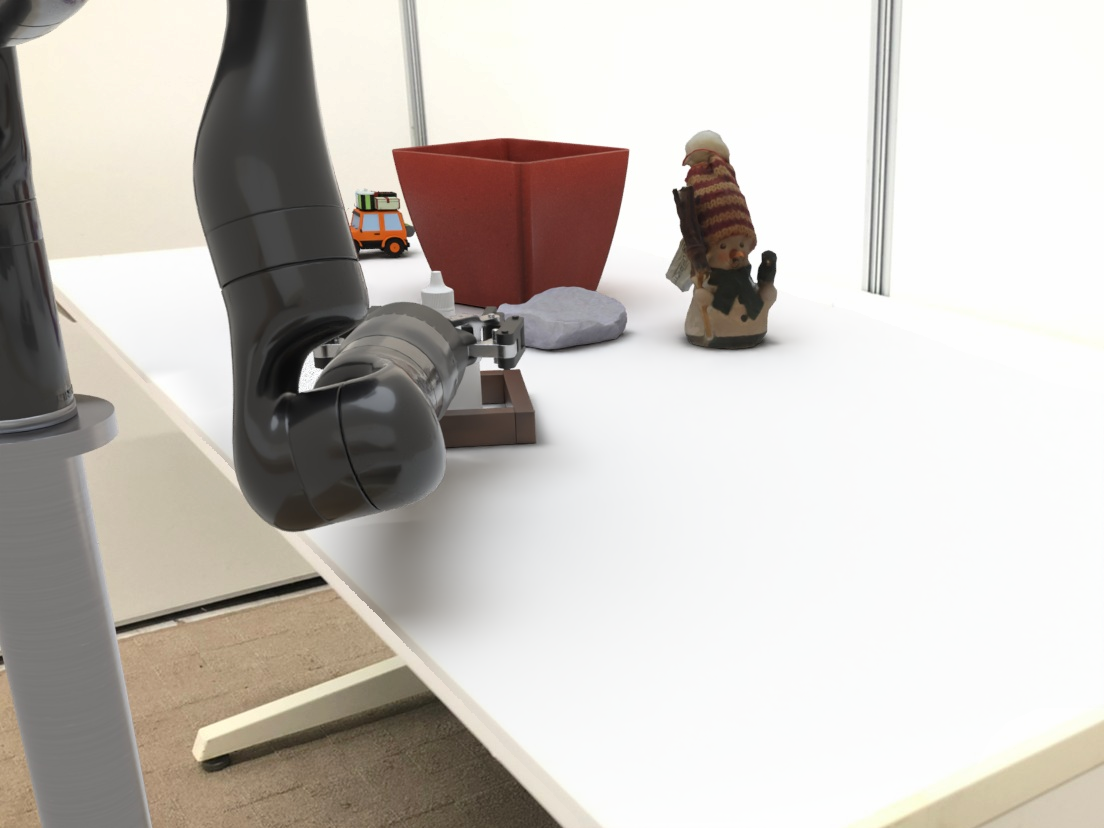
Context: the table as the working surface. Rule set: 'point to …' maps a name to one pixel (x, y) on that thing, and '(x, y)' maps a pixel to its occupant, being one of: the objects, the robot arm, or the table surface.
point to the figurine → (719, 252)
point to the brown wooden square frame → (493, 414)
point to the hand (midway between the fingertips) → (435, 319)
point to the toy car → (379, 223)
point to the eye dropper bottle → (443, 303)
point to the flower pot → (513, 214)
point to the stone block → (568, 318)
